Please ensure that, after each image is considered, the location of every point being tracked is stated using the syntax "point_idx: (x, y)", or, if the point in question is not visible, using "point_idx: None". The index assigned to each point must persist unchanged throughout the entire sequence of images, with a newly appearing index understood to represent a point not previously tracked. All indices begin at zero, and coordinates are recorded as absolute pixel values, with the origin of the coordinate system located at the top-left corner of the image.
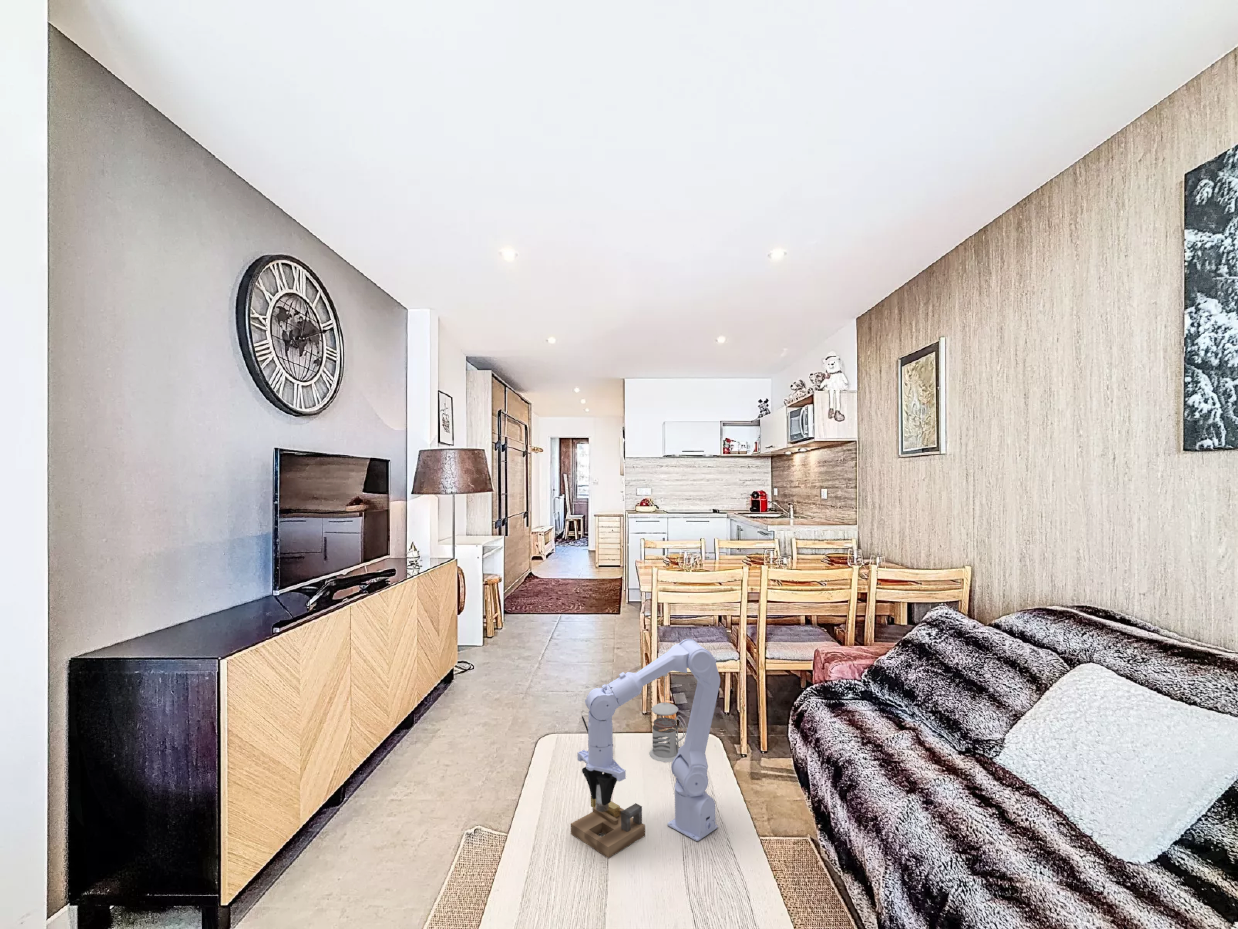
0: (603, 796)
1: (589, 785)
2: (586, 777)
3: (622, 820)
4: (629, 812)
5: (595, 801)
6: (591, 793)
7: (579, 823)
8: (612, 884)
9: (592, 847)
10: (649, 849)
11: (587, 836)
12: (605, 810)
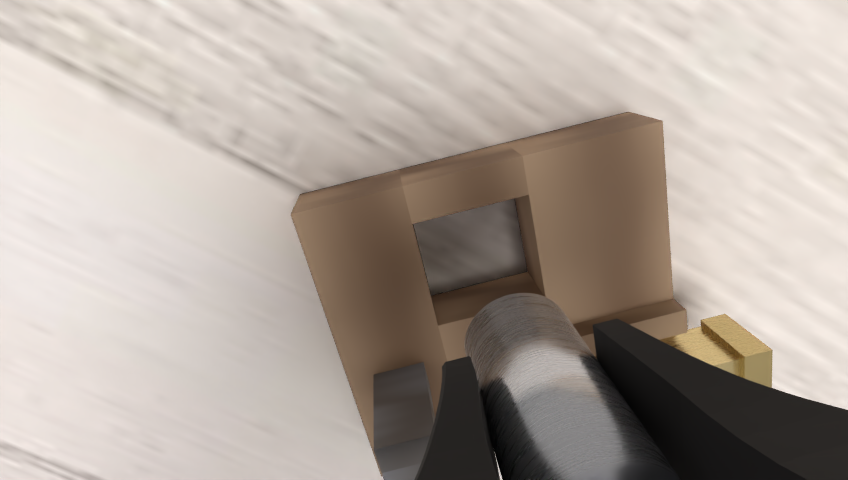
0: (438, 417)
1: (706, 378)
2: (826, 425)
3: (414, 399)
4: (390, 473)
5: (716, 351)
6: (637, 340)
7: (623, 172)
8: (61, 99)
9: (435, 161)
10: (268, 403)
11: (488, 160)
12: (465, 347)
